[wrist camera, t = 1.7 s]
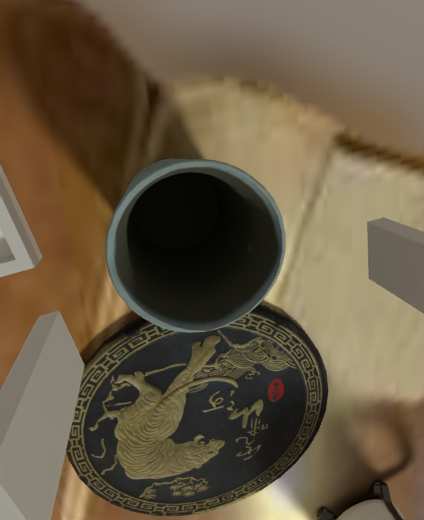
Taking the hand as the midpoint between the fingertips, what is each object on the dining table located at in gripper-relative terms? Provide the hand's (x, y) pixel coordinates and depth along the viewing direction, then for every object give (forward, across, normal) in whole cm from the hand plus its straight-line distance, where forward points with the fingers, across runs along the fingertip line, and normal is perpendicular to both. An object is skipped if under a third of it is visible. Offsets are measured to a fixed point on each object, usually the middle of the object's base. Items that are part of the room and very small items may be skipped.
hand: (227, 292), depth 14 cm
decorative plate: (+17, -3, -24) cm, 30 cm away
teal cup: (+17, 0, 0) cm, 17 cm away
